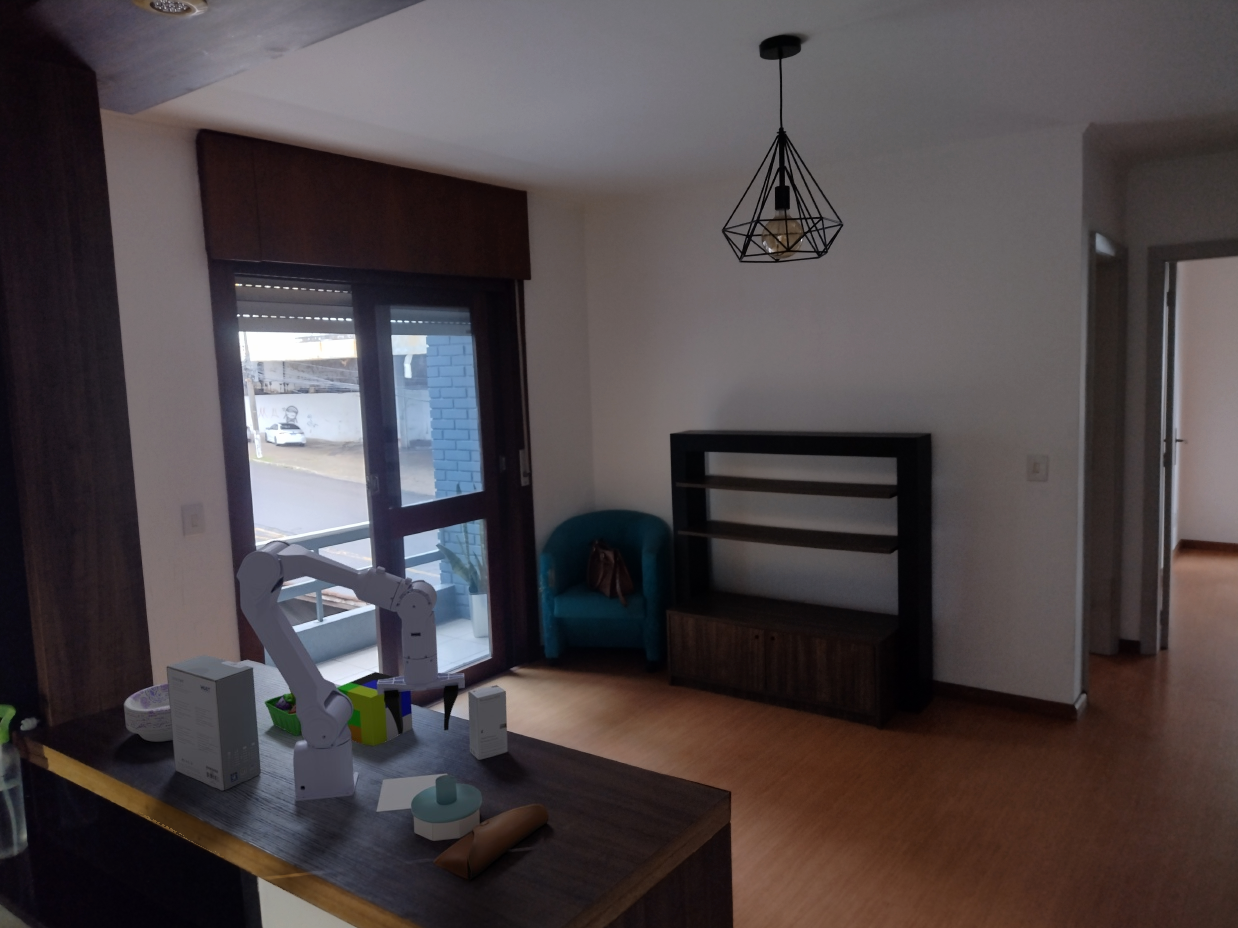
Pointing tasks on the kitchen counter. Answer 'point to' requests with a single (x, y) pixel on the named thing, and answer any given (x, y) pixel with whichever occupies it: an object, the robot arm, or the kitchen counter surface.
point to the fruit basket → (284, 713)
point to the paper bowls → (150, 713)
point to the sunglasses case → (491, 840)
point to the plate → (403, 791)
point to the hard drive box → (214, 720)
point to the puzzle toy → (374, 711)
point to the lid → (446, 801)
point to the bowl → (446, 828)
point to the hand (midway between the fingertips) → (423, 729)
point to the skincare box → (487, 721)
